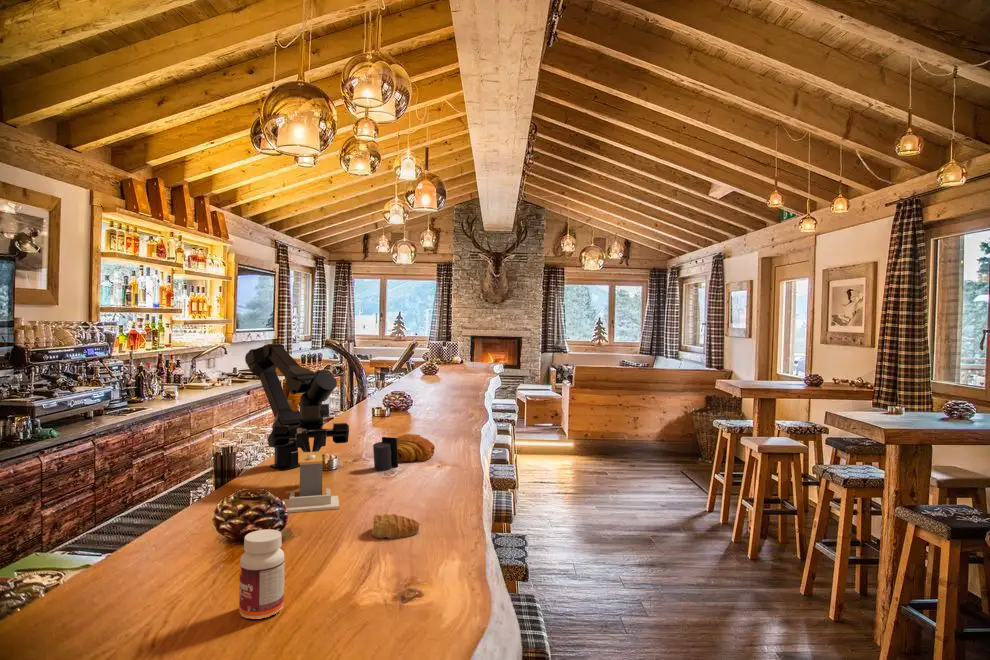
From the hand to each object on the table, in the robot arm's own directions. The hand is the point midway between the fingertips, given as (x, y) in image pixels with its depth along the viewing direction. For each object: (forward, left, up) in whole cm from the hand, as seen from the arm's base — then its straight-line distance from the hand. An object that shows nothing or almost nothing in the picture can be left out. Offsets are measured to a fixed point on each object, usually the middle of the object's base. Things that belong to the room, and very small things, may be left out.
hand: (311, 462), depth 147 cm
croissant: (-2, +41, -7) cm, 42 cm away
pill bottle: (+42, -44, -7) cm, 61 cm away
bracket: (+9, -8, -7) cm, 14 cm away
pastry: (+36, -10, -7) cm, 38 cm away
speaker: (+1, +26, -7) cm, 27 cm away
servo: (+4, -3, -7) cm, 9 cm away
